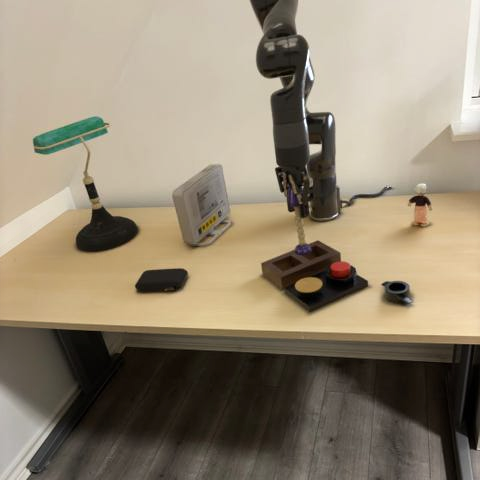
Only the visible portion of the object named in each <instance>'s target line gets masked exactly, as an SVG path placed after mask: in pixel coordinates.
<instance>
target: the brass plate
mask: <svg viewBox="0 0 480 480" xmlns="http://www.w3.org/2000/svg"><path fill="white" fill-rule="evenodd" d="M322 285H323V283H322V281H321V280H320V279H318V278H314V277H308V278H303V279H301V280H299V281H297V282H296V284H295V288H296V290H298V291H299V292H303V293H310V292H315V291H317V290H319V289H320V288H321V287H322Z"/></svg>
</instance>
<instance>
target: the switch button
mask: <svg viewBox="0 0 480 480" xmlns="http://www.w3.org/2000/svg"><path fill="white" fill-rule="evenodd" d="M350 265H351V264H350V263H349V262H347V261H343V260H341V262H335V263H333V264H332V265H331V275H332V276H334V277H345V276H348V275H349V274H350Z"/></svg>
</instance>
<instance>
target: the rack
mask: <svg viewBox="0 0 480 480" xmlns="http://www.w3.org/2000/svg"><path fill="white" fill-rule="evenodd" d="M307 244H308V245H310V247H311V249H312V251H311V252H310V253H309V254H307V255H297V254H295V249H292V250H290V251H287V252H285V253H282V254H280V255H278V256H275V257H273V258H270V259H268V260H265V261H262V262H260V266H261V271H262V273H261V274H262V276H263V277H265V279H267V280H268V281H270V282H271V283H272V284H273V285H275V286H276V287H278V288H279V289H280V290H281V291H284V288H285V287H287V286H290V285H292V284H294V283H296V282H297V281H299V280H301V279H303V278H308V277H311V276H313V275H315V274H318V273H320V272H322V271H325V270H327V269H328V268H329V267H331V265H332V264H333V263H335V262H341V261H342V256H341V255H342V254H341V252H340V251H339V250H336V249H335V248H333V247H331V246H330V245H327V244H326V243H324V242H322V241H320V240H315V241H312V242H309V243H307Z"/></svg>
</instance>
